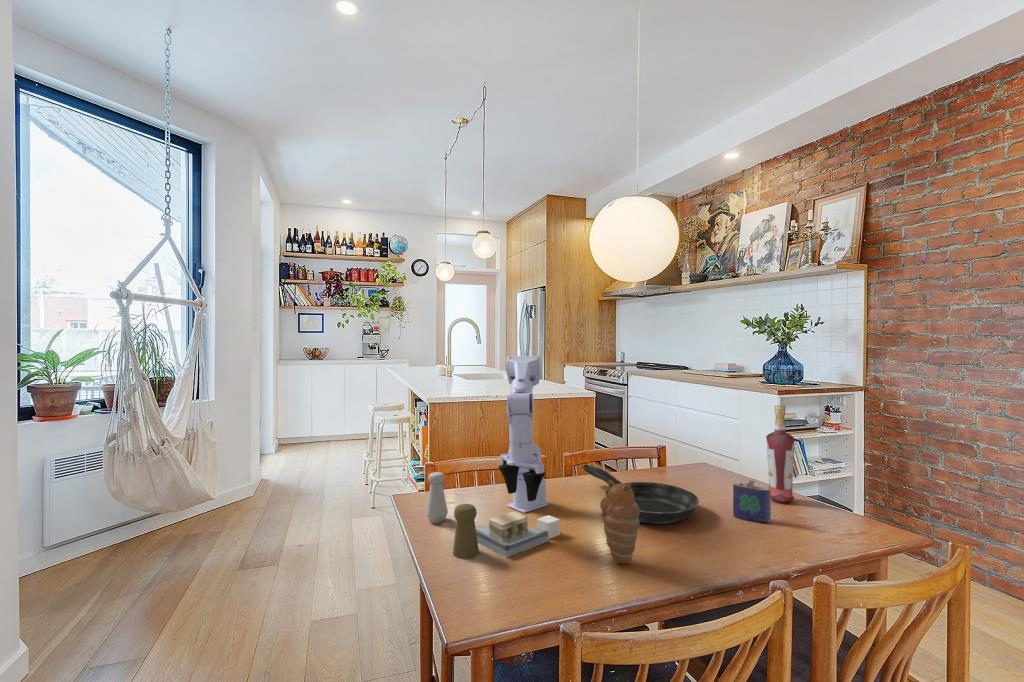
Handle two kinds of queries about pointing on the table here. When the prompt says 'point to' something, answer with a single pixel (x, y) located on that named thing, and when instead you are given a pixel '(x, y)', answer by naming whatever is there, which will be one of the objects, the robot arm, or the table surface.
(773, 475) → the liquor
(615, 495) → the cat ice cream
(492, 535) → the block
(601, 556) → the table surface
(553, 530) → the white cube
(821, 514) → the table surface
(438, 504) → the salt shaker
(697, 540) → the table surface
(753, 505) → the flask
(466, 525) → the pepper shaker
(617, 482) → the frying pan
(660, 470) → the table surface
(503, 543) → the dock
